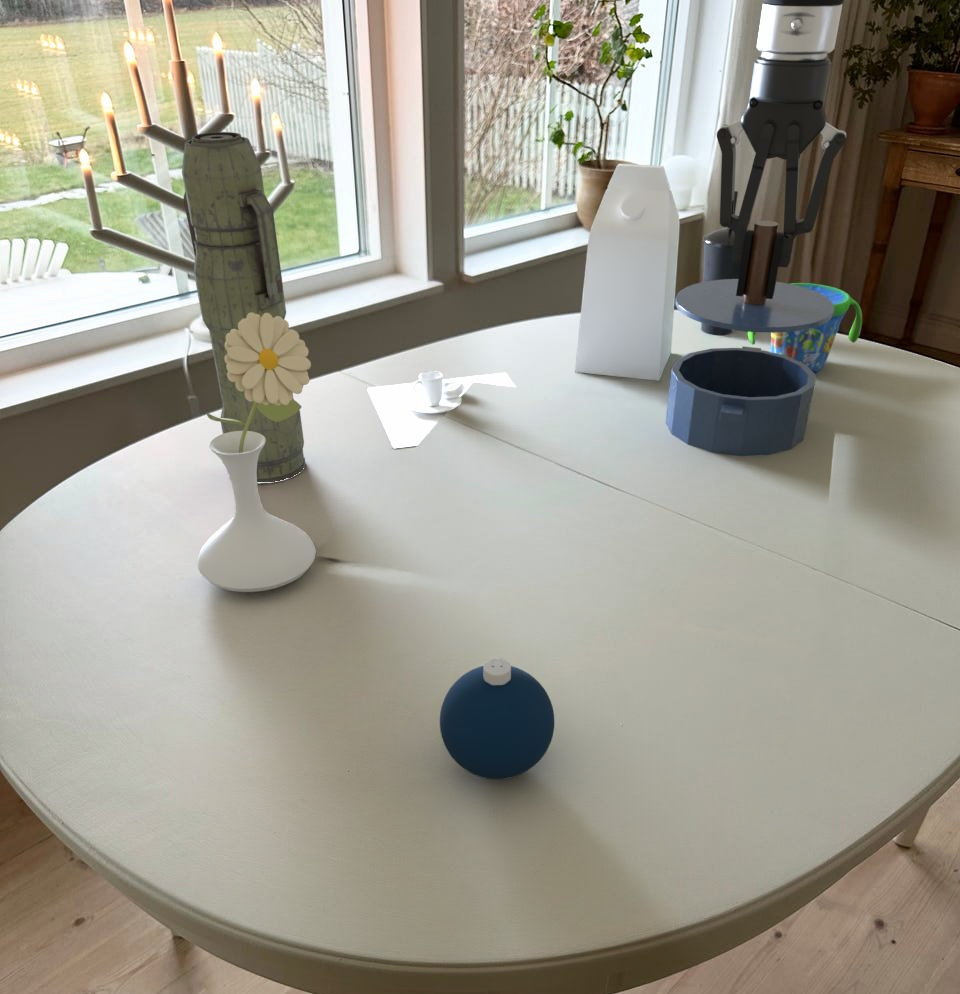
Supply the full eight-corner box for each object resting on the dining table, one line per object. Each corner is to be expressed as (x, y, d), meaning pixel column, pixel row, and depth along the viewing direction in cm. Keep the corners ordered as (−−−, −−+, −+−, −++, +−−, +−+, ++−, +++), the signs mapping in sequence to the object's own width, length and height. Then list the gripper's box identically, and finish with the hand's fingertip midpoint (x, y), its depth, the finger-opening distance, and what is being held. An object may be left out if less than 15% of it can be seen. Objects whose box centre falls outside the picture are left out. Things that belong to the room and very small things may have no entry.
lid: (835, 296, 115) (853, 210, 110) (828, 345, 102) (849, 250, 96) (687, 283, 120) (697, 200, 114) (662, 328, 106) (672, 237, 101)
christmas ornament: (546, 724, 76) (550, 621, 70) (558, 801, 69) (564, 695, 63) (441, 727, 76) (436, 625, 70) (442, 805, 69) (437, 699, 63)
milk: (671, 352, 142) (692, 159, 126) (658, 380, 133) (680, 177, 117) (591, 344, 145) (603, 155, 129) (574, 371, 136) (584, 172, 120)
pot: (808, 404, 126) (820, 348, 121) (797, 478, 109) (810, 416, 105) (681, 389, 130) (687, 335, 126) (651, 458, 113) (657, 398, 109)
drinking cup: (715, 318, 154) (733, 183, 142) (751, 331, 149) (774, 192, 137) (681, 328, 150) (697, 190, 138) (718, 341, 145) (738, 200, 133)
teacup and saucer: (459, 389, 131) (458, 360, 128) (474, 412, 125) (473, 382, 122) (396, 396, 129) (394, 367, 127) (408, 419, 123) (406, 389, 121)
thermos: (255, 442, 118) (203, 124, 97) (330, 463, 113) (293, 133, 92) (204, 470, 112) (137, 138, 91) (281, 494, 107) (229, 148, 86)
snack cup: (842, 352, 141) (858, 282, 135) (862, 379, 133) (880, 305, 126) (735, 352, 142) (746, 281, 136) (748, 378, 133) (761, 305, 127)
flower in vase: (210, 614, 88) (153, 349, 73) (192, 554, 97) (137, 306, 82) (347, 584, 92) (319, 326, 77) (318, 529, 101) (287, 287, 86)
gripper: (709, 57, 95) (681, 297, 109) (876, 61, 91) (824, 310, 105) (719, 49, 100) (691, 278, 115) (876, 53, 96) (827, 290, 110)
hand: (755, 293), depth 110 cm, fingers closed on lid, 3 cm apart
